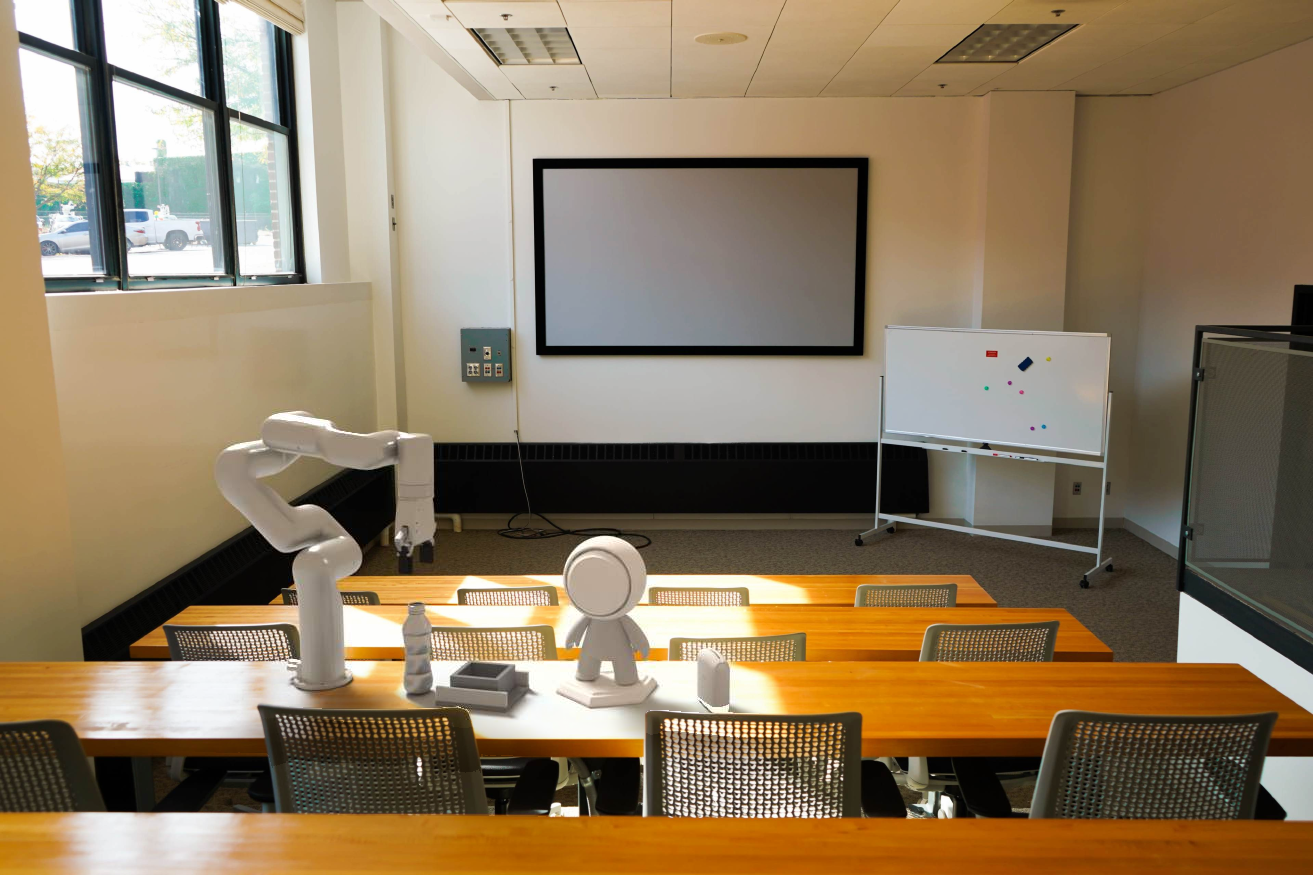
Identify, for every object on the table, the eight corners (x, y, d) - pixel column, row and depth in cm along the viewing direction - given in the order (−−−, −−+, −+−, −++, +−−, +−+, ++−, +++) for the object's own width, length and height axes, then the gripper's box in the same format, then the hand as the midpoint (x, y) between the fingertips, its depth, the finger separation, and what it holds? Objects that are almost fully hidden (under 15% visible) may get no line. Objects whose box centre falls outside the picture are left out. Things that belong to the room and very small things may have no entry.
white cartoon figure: (545, 702, 209) (544, 543, 205) (583, 666, 231) (583, 522, 227) (633, 713, 204) (634, 550, 200) (664, 675, 226) (665, 528, 221)
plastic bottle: (437, 686, 218) (435, 600, 215) (427, 698, 211) (425, 609, 209) (409, 685, 218) (407, 599, 216) (398, 697, 212) (396, 608, 209)
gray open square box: (435, 705, 207) (435, 678, 207) (462, 681, 221) (462, 656, 220) (505, 712, 204) (505, 684, 203) (529, 688, 217) (529, 662, 217)
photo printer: (694, 699, 212) (695, 644, 210) (712, 696, 213) (713, 642, 212) (713, 717, 202) (714, 659, 201) (732, 714, 204) (732, 657, 202)
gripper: (418, 483, 219) (418, 557, 221) (380, 496, 202) (381, 576, 204) (449, 485, 217) (449, 560, 219) (413, 499, 200) (413, 579, 202)
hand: (416, 568), depth 211 cm, fingers open, 9 cm apart
